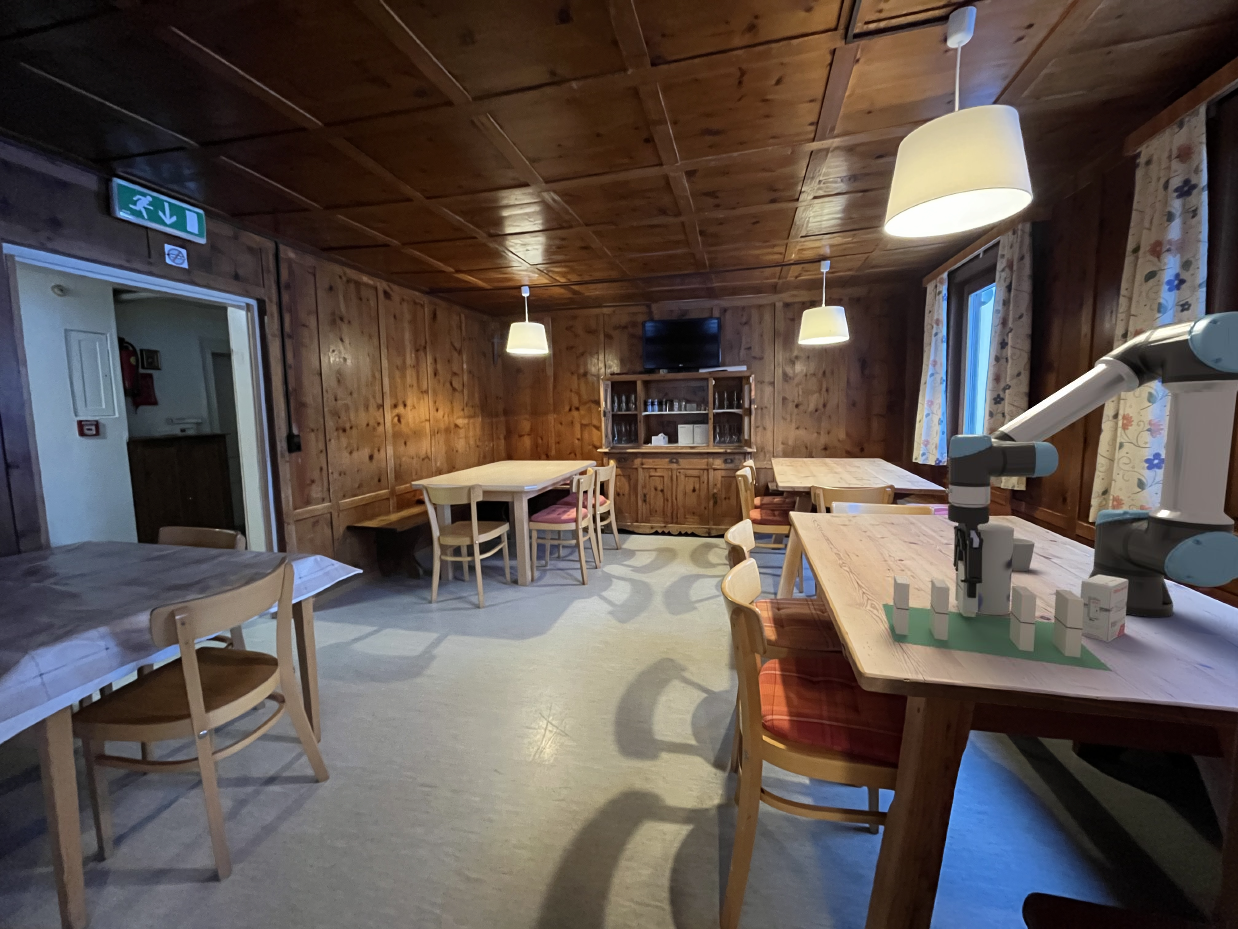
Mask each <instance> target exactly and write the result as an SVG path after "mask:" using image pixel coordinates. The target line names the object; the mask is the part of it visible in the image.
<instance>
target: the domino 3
mask: <svg viewBox="0 0 1238 929" xmlns="http://www.w3.org/2000/svg"><path fill="white" fill-rule="evenodd" d="M957 573H958V599H957V601H956V604H957V606H956V607H957V609H958V610H959V611H960V612H961V613H962V615H963V616H970V617H975V614H976V612H971V611H963V610H962V593H963V582H961V580H964V561H958V572H957ZM960 579H961V580H960Z"/></svg>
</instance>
